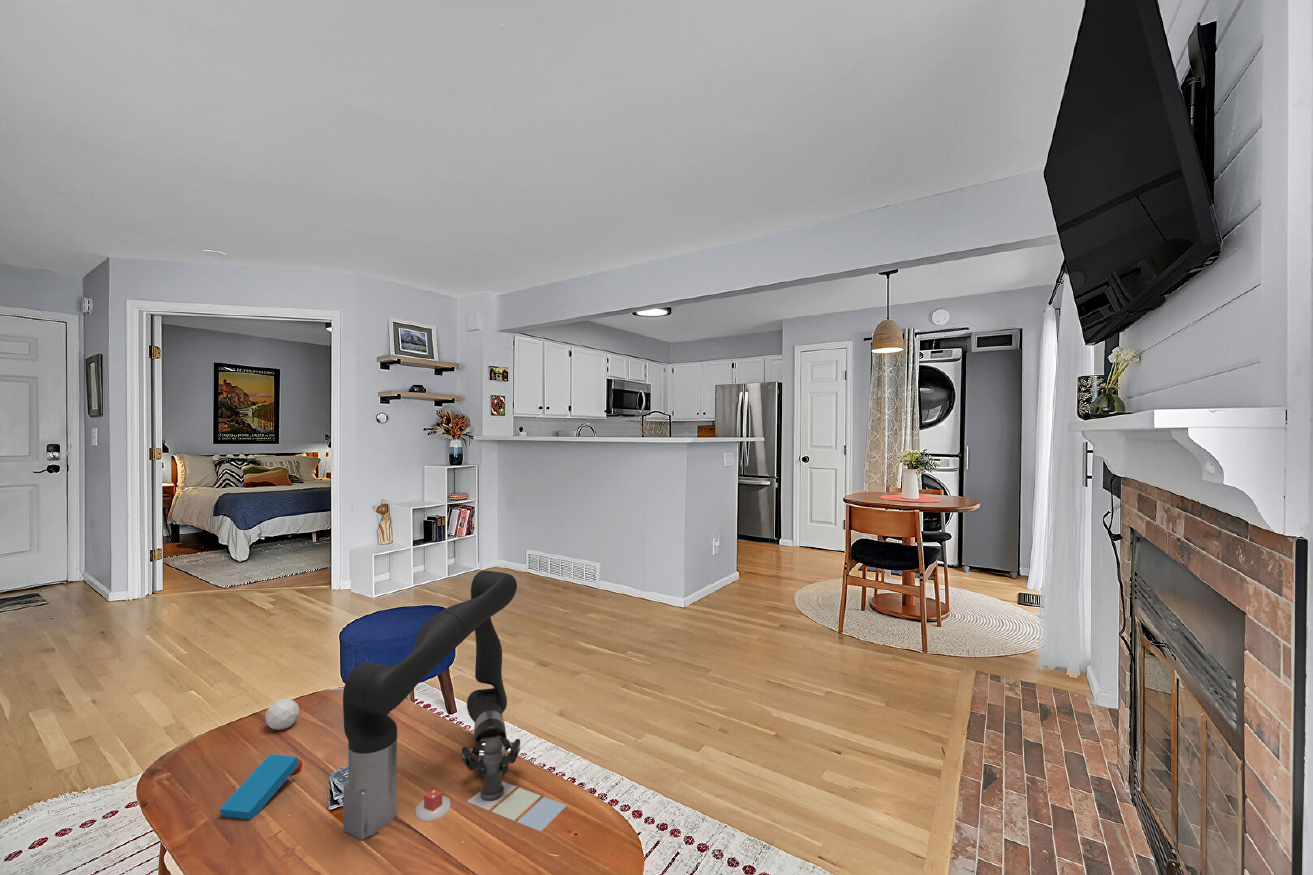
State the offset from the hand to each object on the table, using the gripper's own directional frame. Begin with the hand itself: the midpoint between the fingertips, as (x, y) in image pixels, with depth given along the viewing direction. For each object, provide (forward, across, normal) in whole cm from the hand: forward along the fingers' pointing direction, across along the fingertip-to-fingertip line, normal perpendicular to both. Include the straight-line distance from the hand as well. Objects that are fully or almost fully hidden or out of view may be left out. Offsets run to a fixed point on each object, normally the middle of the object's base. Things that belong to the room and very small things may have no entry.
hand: (493, 772), depth 126 cm
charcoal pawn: (-3, 0, +6) cm, 7 cm away
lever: (-20, -48, +8) cm, 53 cm away
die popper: (-1, -12, +8) cm, 15 cm away
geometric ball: (-51, -53, +8) cm, 74 cm away
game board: (+2, +5, +8) cm, 9 cm away
